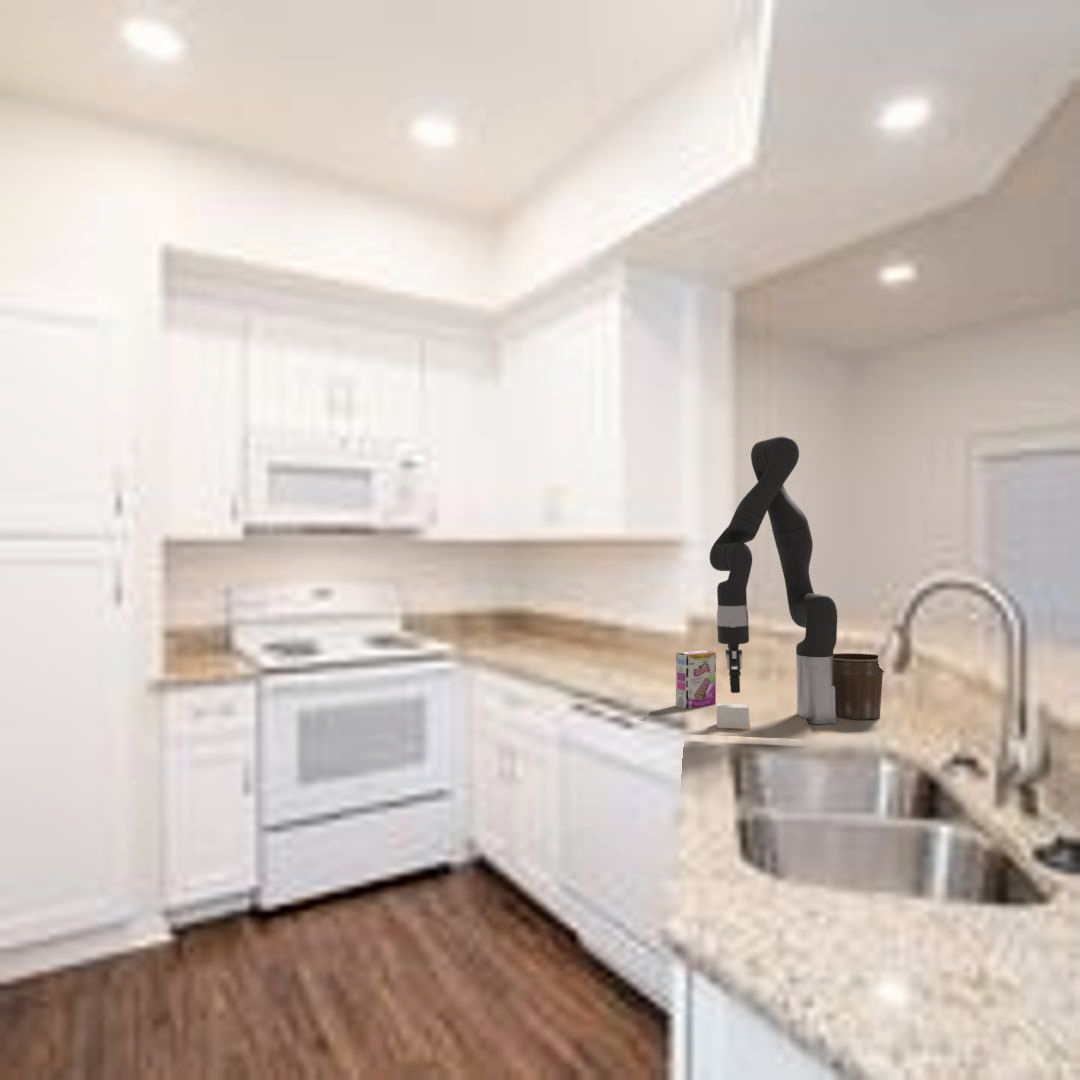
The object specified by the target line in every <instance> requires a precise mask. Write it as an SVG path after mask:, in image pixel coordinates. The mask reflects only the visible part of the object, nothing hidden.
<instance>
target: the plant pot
mask: <svg viewBox="0 0 1080 1080" xmlns="http://www.w3.org/2000/svg"><path fill="white" fill-rule="evenodd" d="M878 655H879V654H871V653H857V652H856V653H855V652H854V653H853V652H852V653H851V652H849V653H848V652H846V653H845V652H844V653H843V652H842V653H840V652H839V653H833V667H834V686H835V715H836V718H838V717H839V718H841V719H850V718H852V719H854V720H858V721H859V720H861V721H862V720H863V721H867V720H869V721H870V720H876V719H879V717H880V718H881V709H882V708H881V706H882V691H883V690H882V689H883V678H884V677H883V676H884V673H885V670H884V671H883V670H882V669H881V668H880V667H879V664H878V659H877V658H878Z"/></svg>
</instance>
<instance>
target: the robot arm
mask: <svg viewBox="0 0 1080 1080" xmlns="http://www.w3.org/2000/svg"><path fill="white" fill-rule="evenodd" d="M750 459H751V466H752V468H753V472H754V474H755V477H756V480H757V483H756V484H754V486H753V487H752V488H751V489H750V490H749V492H747V493H746V495H745V496H744V497H743V498H742V500H741V501H740V502H739V504H738V505H737V507H736V510H735V511H734V514H733V516H732V518H731V521H730V523H729V525H728V526H727V527H726V528H725V529H723V532H722V533H721V534H720V535H719V537H718V538H717V539H716V540H715V542H714V543H713V545H712V546H711V548H710V552H709V563H710V565H711V567H712V568H713V569H714V570H716V571H719V572H729V573H728V577H727V579H726V580H724V581H721V582H719V583H718V584H717V587H716V588H717V589H716V593H717V595H716V596H717V609H716V610H717V611H716V624H717V625H716V626H717V642H718V643H719V644H723V645H727V648H728V649H725V659H726V669H728V676H729V685H730V693H732V694H739V693H741V681H740V680H741V678H740V677H741V673H742V672H741V669H742V665H743V664H742V659H743V650H742V649H739V647H740V645H743V644H748V643H749V642H750V631H749V628H750V627H749V626H750V625H749V624H750V622H749V612H748V603H747V598H748V597H747V586H748V583H749V578H750V576H751V575H750V574H751V569H752V565H753V554H752V551H751V549H750V547H749V546H748V545H747V544H746V543H749V542H751V541H753V540H754V539H755V537H756V536H757V534H758V533H759V532H758V531H759V530H760V528H761V525H762V523H763V521H764V518H765V516H766V513H767V514H768V517H769V521H770V526H771V529H772V530H771V532H772V535H773V539H774V542H775V547H776V549H777V554H778V557H779V562H780V566H781V569H782V574H783V579H784V584H785V589H786V596H787V605H788V610H789V615H790V617H791V619H792V621H793V622H794V623H795V625H796V626H798V627H800V628H805V636H804V639H803V640H801V641H800V642H797V644H796V647H795V649H796V650H795V651H796V652H795V653H796V658H795V659H796V660H795V661H796V667H795V668H796V669H795V670H796V716H798V717H800V718H805V719H806V721H807V724H812V725H828V724H836V723H837V721H836V720H837V719H836V718H837V717H836V715H835V686H834V667H833V654H834V649H835V647H836V644H837V637H838V609H837V605H836V603H835V601H834V599H832V598H831V597H830V596H828V595H826V594H820V593H817V594H816V593H815V592H814V590H813V587H812V586H813V585H812V582H811V577H810V564H811V559H812V553H813V545H814V543H813V537H812V533H811V529H810V526H809V525H810V524H809V521H808V519H807V516H806V515H805V513H804V512H803V510H802V509H801V508H800V507H799V506H798V504H797V503H796V502H795V501H794V500H793V499H792V498H791V496H790V495H789V493H788V492H787V490H786V488H785V486H784V484H785V483H786V481H787V480H788V477H789V476H790V475H791V473H792V472H793V470H794V469H795V467H796V466H797V463H798V462H799V459H800V450H799V445H798V444H797V442H796V440H794V439H793V438H792V437H790V436H784V435H783V436H778V437H777V436H776V437H771V438H769V439H764V440H762V441H761V440H760V441H757V442H756V443H754V445H753V446H752V449H751V453H750Z"/></svg>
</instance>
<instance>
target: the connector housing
mask: <svg viewBox="0 0 1080 1080" xmlns="http://www.w3.org/2000/svg"><path fill="white" fill-rule="evenodd" d="M749 709H750V708H749V704H741V703H740V704H739V703H736V704H735V703H716V728H717V727H718V728H743V729H749V720H750V712H749V711H750V710H749Z"/></svg>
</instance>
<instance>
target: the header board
mask: <svg viewBox="0 0 1080 1080" xmlns="http://www.w3.org/2000/svg"><path fill="white" fill-rule="evenodd" d="M716 730H720V731H721V730H722V731H723V730H725V731H742V732H743V731H745V732H746V731H749V732H750V731H752V729H751V721H750V719H749V729H743V728H718V727H717V726H716Z"/></svg>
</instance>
